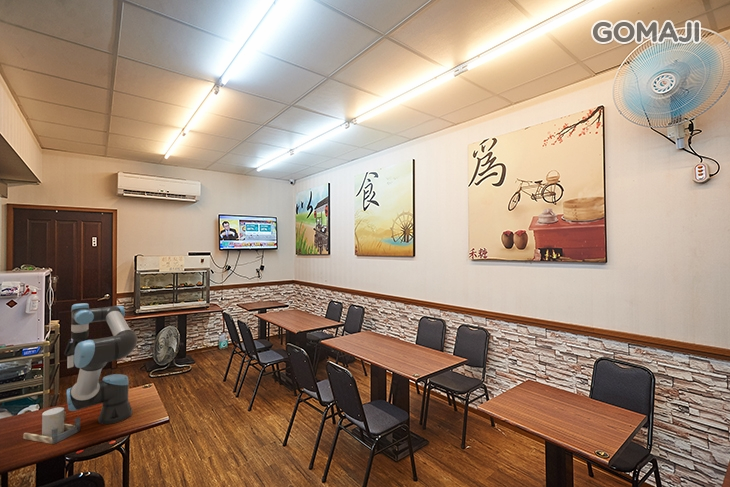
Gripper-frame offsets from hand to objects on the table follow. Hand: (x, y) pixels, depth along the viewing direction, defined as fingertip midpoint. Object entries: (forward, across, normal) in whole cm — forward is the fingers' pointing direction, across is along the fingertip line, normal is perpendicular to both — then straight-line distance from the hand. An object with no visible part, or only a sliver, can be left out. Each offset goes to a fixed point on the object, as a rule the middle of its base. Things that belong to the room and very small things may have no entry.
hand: (79, 368), depth 188 cm
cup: (+27, -7, +18) cm, 33 cm away
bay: (+27, -7, +18) cm, 33 cm away
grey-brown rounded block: (+27, +6, +7) cm, 28 cm away
